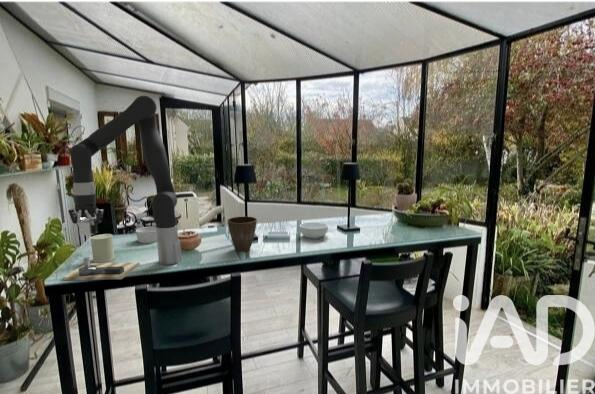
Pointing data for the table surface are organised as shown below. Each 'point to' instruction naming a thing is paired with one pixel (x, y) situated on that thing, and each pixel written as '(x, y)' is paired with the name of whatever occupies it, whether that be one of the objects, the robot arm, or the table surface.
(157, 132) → the robot arm
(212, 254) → the table surface
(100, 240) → the cream cylinder
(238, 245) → the plant pot
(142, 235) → the ramekin
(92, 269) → the ratchet
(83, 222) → the grey pocketed block
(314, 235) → the cereal bowl
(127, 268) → the board
